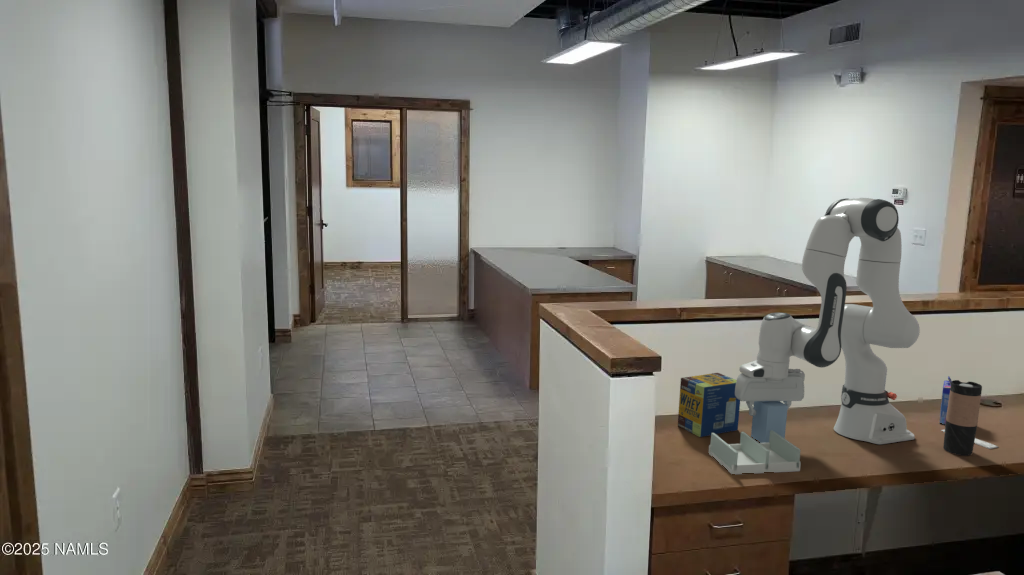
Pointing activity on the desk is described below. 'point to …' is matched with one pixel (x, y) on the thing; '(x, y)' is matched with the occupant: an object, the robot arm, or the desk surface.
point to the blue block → (768, 420)
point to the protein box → (708, 404)
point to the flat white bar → (982, 443)
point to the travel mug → (962, 417)
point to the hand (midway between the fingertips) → (767, 415)
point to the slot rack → (756, 454)
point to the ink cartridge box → (945, 400)
